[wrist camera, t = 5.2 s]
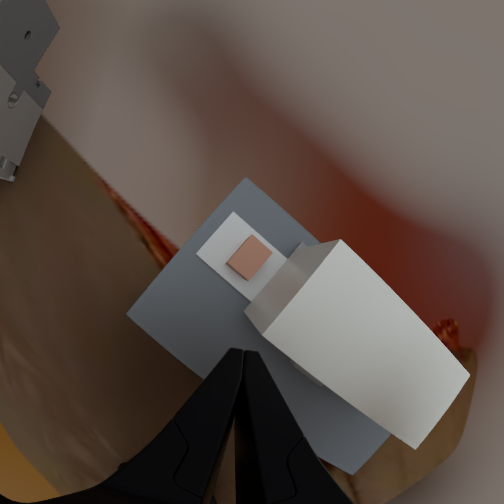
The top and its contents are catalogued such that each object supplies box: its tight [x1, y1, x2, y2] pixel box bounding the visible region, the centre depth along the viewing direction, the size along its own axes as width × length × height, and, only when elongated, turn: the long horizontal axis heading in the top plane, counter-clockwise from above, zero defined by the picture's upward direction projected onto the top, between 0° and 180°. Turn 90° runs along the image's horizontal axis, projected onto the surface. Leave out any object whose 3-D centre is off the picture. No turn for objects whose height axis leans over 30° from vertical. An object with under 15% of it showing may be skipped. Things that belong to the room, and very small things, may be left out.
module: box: [244, 239, 470, 449], centre depth 17 cm, size 6×12×8 cm, turn 49°
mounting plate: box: [126, 177, 392, 475], centre depth 20 cm, size 12×22×5 cm, turn 49°
